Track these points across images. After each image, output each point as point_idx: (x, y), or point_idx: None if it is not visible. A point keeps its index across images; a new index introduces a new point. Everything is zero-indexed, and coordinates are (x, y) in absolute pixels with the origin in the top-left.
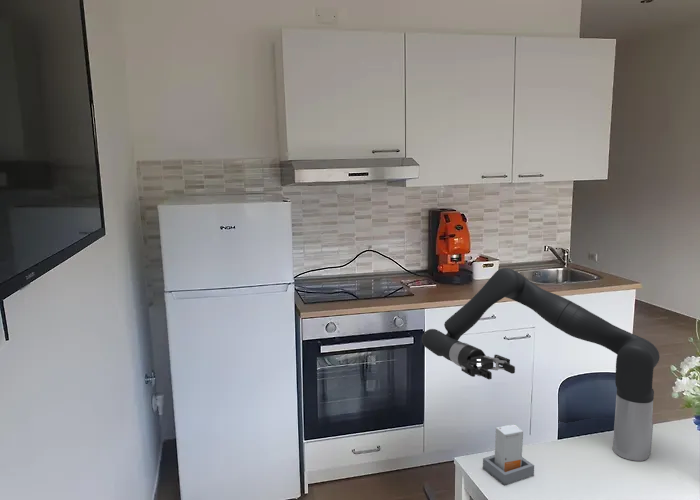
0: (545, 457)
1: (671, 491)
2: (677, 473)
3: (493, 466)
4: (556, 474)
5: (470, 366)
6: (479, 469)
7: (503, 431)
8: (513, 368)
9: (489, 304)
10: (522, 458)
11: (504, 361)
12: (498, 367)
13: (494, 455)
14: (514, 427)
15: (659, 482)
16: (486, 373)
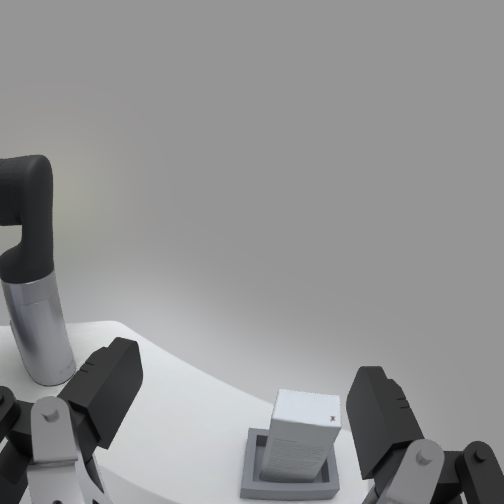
0: (162, 459)
1: (125, 330)
2: (80, 332)
3: (335, 459)
4: (204, 422)
5: (491, 489)
6: (341, 498)
7: (334, 404)
8: (134, 346)
9: None
10: (249, 453)
11: (57, 409)
12: (103, 493)
13: (304, 489)
14: (288, 406)
15: (113, 339)
16: (393, 382)
